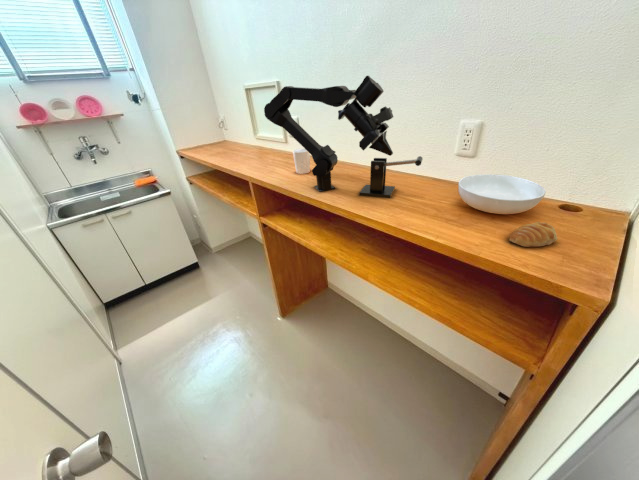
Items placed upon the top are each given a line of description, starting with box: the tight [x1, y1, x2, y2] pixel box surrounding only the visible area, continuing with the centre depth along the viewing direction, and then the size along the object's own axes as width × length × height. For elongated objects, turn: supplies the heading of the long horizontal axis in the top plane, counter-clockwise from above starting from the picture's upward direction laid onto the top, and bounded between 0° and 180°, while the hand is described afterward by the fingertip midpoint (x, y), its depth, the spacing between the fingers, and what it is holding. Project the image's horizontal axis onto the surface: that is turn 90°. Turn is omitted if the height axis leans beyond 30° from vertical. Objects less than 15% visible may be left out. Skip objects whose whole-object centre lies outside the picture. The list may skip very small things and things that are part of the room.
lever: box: [382, 155, 424, 167], centre depth 84 cm, size 15×5×2 cm, turn 66°
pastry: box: [509, 221, 558, 248], centre depth 58 cm, size 9×7×4 cm
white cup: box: [292, 148, 311, 175], centre depth 119 cm, size 8×8×10 cm
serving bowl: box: [457, 173, 547, 215], centre depth 74 cm, size 21×21×7 cm
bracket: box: [358, 157, 396, 199], centre depth 89 cm, size 11×9×12 cm
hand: (391, 154), depth 84 cm, fingers closed
